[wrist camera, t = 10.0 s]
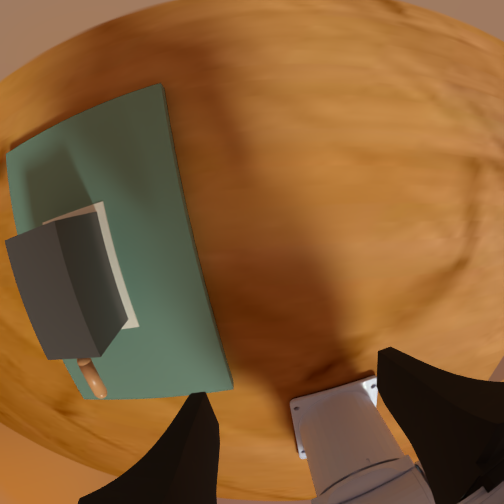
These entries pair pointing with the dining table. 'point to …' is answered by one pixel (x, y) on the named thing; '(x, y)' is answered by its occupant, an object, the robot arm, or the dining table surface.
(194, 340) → the board
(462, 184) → the dining table surface
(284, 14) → the dining table surface
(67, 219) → the block
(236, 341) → the dining table surface
